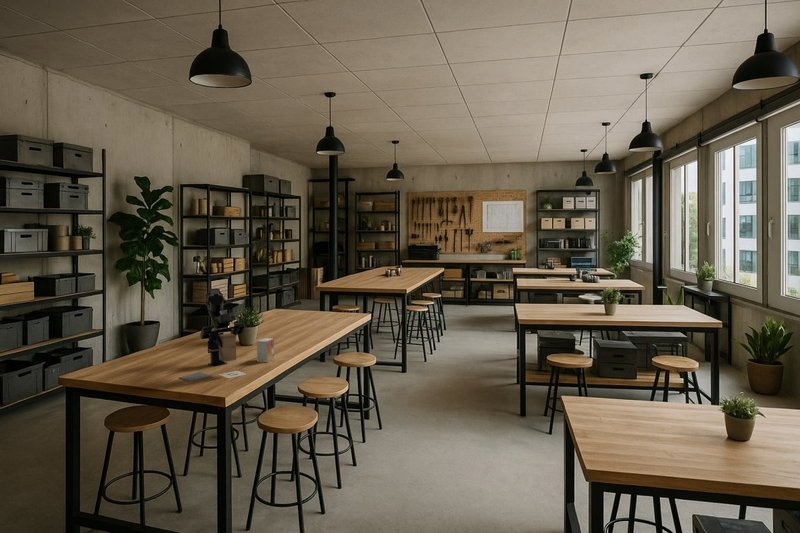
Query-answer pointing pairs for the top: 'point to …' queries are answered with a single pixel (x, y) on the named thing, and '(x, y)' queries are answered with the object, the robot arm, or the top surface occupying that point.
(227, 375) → the card
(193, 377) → the rubber mat
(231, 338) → the walnut block
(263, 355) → the small box
